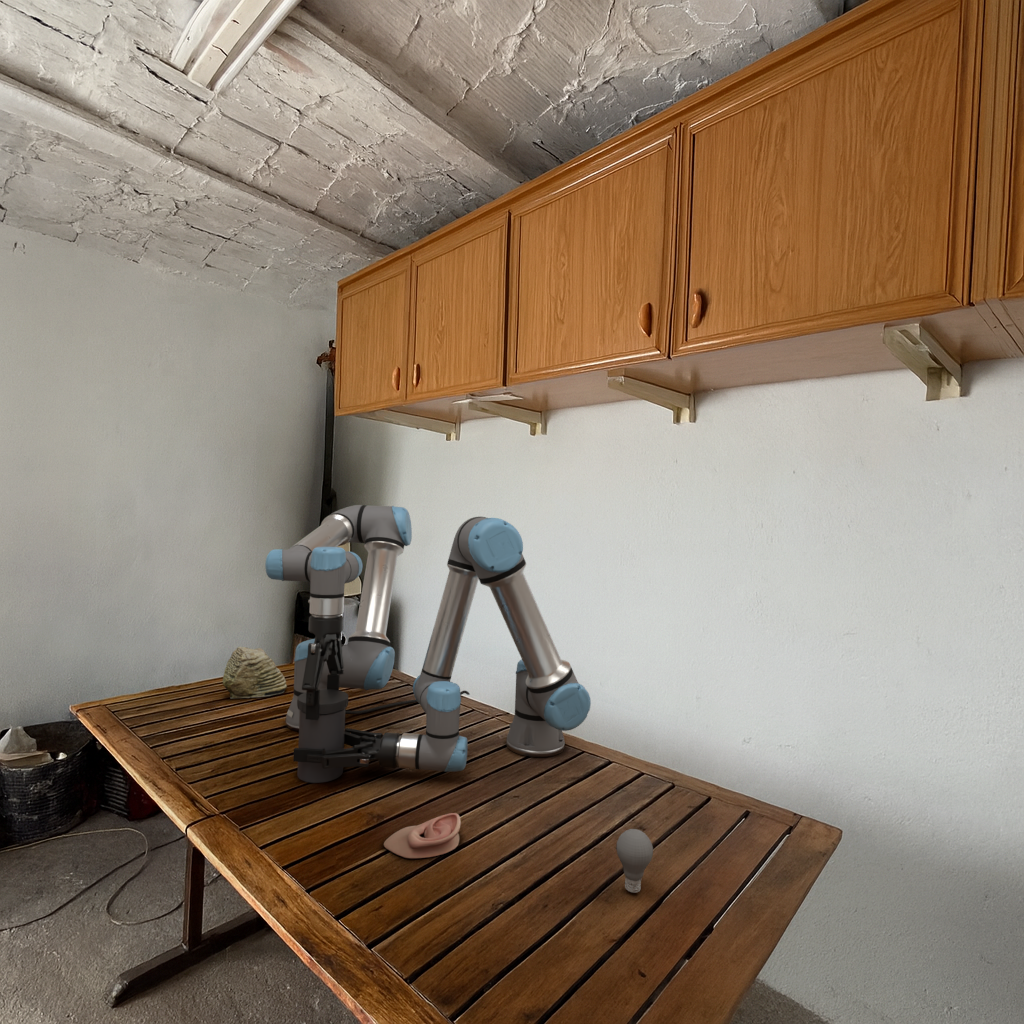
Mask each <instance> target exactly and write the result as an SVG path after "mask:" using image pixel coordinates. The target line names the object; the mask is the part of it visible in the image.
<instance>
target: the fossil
mask: <svg viewBox="0 0 1024 1024" xmlns="http://www.w3.org/2000/svg"><path fill="white" fill-rule="evenodd" d="M222 676H223V677H222V685H223V687H224V688H225V690H226V691H228V693H229V698H230V699H250V698H264V697H271V696H275V695H281V694H284V693H285V691H286V689H287V687H288V686H287V680H286V678H285V676H284V674H283V673H282V672H281V669H279V668H278V667H277V665H276V663H275V662H274V660H273V659H272V658H271V657H270V656H269V655H268V654H267V653H266V652H265V650H264V649H263V648H260V647H258V648H251V647H247V646H246V647H245V646H238V647H237V648H236V649H235V650H233V651H232V653H231V656H230V657H229V659H228V660H227V663H226V666H225V668H224V671H223V675H222Z"/></svg>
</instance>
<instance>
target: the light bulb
mask: <svg viewBox="0 0 1024 1024" xmlns="http://www.w3.org/2000/svg"><path fill="white" fill-rule="evenodd" d="M615 849H616V854H617V857H618V859H619V861H620V863H621V865H622V867H623V873H624V874H623V875H624V876H625V878H624V888H625V890H627V891H628V892H630V893H634V894H635V893H639V892H640V891H641V889H642V887H641V886H642V879H643V877H644V875H645V871H646V868H647V867H648V866H649V864H650V863H651V861H652V859H653V855H654V847H653V843H652V841H651V838H649V836H648V835H647V834H646V833H645V832H643V831H642V830H641V829H636V828H629V829H627V830H625V831H623V832H622V833H621V834H620V835H619V837H618V839H617V841H616V847H615Z"/></svg>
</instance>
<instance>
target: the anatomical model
mask: <svg viewBox="0 0 1024 1024" xmlns="http://www.w3.org/2000/svg"><path fill="white" fill-rule="evenodd" d="M461 820H462V819H461V816H460V815H459V813H456V812H450V813H446V814H443V815H439V816H437V817H434V818H431V819H428V820H427V821H425V822H423V823H420V824H418V825H409V826H406V827H403V828H400V829H399V830H397V831H395V832H394V833H393V834H391V835H390V836H388V838H386V839H385V841H384V842H383V847H384V848H385V849H386V850H388V851H389V852H391V853H393V854H395V855H396V856H400V857H402V858H405V859H425V858H432V857H436V856H440V855H441V856H442V855H444V854H447V853H449V852H451V851H453V850H456V848H457V847H458V845H459V843H460V834H459V832H460V829H461V826H462V825H461V824H462V822H461Z"/></svg>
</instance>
